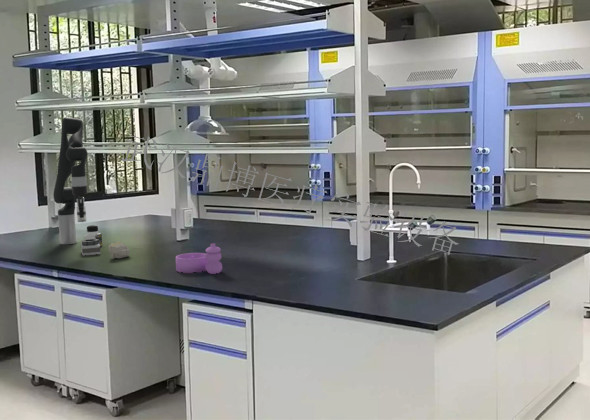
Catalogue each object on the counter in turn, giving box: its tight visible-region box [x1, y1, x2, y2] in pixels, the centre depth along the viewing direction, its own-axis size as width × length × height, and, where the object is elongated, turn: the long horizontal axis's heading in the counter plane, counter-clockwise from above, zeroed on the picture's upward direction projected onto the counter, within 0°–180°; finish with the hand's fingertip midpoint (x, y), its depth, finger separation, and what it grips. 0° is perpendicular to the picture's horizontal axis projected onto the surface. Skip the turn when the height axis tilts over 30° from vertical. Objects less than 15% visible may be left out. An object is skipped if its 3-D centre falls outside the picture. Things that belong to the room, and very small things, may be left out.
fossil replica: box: [107, 241, 130, 260], centre depth 331 cm, size 12×8×10 cm
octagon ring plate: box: [80, 239, 101, 257], centre depth 346 cm, size 12×9×7 cm
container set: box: [175, 243, 223, 275], centre depth 294 cm, size 25×15×13 cm, turn 52°
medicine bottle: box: [83, 224, 103, 247], centre depth 368 cm, size 7×7×12 cm
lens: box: [76, 205, 87, 223], centre depth 343 cm, size 5×5×8 cm
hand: (81, 217), depth 344 cm, fingers closed on lens, 4 cm apart
